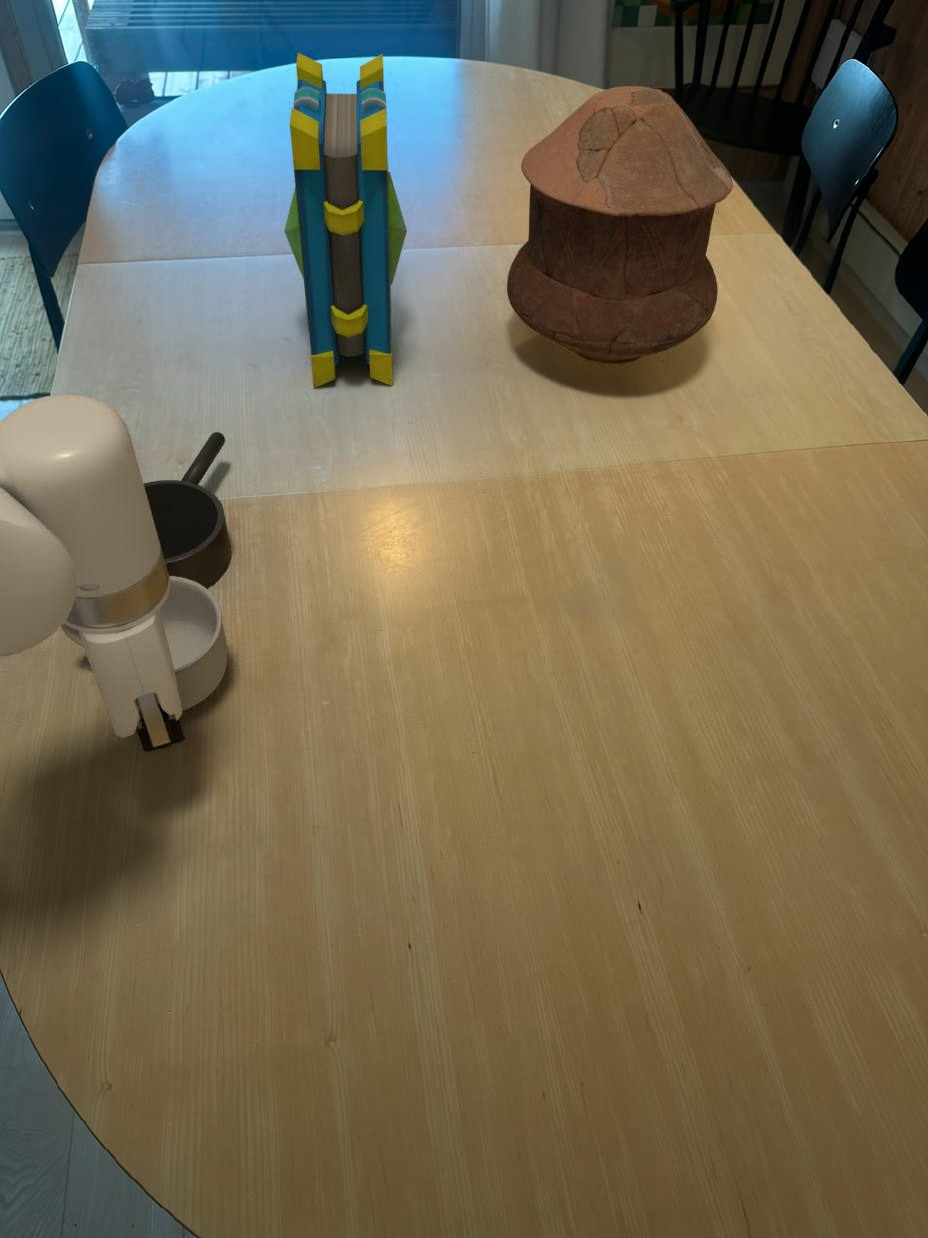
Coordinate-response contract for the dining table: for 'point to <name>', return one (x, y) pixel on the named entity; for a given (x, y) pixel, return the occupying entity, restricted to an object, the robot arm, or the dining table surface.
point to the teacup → (190, 639)
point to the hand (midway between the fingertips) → (163, 739)
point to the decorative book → (344, 218)
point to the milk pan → (192, 521)
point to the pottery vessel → (619, 228)
